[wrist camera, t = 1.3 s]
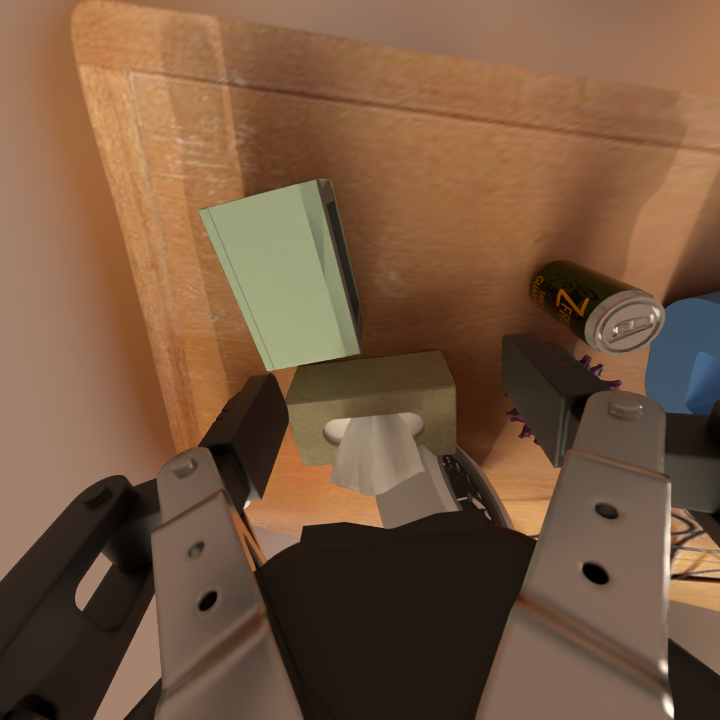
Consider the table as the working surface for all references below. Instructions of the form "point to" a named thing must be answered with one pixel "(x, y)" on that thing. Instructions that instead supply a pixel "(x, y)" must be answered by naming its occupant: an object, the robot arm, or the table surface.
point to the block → (687, 357)
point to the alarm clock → (442, 491)
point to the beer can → (597, 307)
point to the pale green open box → (290, 272)
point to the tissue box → (373, 417)
